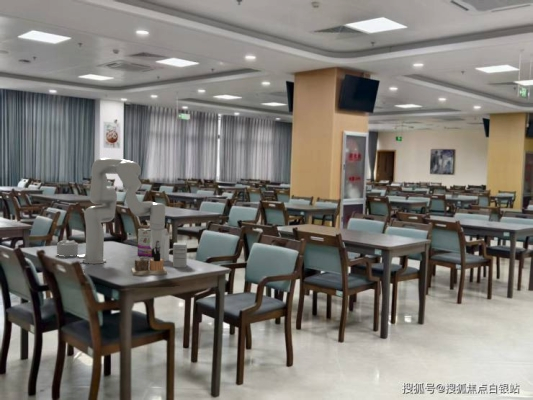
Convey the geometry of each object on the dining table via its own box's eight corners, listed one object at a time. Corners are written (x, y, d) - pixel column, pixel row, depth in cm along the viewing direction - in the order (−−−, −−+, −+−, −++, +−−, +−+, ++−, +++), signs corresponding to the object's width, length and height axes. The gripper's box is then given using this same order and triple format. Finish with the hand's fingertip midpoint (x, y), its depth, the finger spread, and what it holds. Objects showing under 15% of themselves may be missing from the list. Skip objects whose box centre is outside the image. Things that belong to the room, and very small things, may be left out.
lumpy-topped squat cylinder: (63, 257, 310) (63, 242, 310) (53, 254, 319) (53, 240, 319) (79, 255, 318) (80, 241, 317) (69, 252, 327) (69, 238, 326)
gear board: (133, 274, 268) (133, 259, 268) (131, 270, 279) (131, 255, 278) (166, 273, 274) (167, 258, 273) (163, 269, 284) (164, 254, 284)
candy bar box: (157, 256, 326) (157, 229, 325) (152, 257, 322) (153, 230, 321) (141, 254, 330) (142, 228, 329) (137, 255, 326) (137, 228, 325)
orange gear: (150, 270, 273) (150, 261, 273) (148, 268, 280) (148, 258, 279) (164, 270, 275) (164, 260, 275) (162, 267, 282) (162, 258, 282)
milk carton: (164, 262, 307) (165, 229, 306) (152, 261, 308) (153, 228, 307) (168, 260, 314) (169, 228, 313) (157, 259, 315) (158, 227, 314)
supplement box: (173, 264, 300) (174, 242, 299) (186, 265, 301) (187, 242, 300) (172, 267, 293) (172, 244, 292) (185, 267, 293) (186, 244, 292)
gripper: (147, 224, 283) (146, 256, 284) (151, 229, 267) (150, 262, 268) (162, 224, 286) (160, 256, 287) (166, 229, 269) (165, 262, 271)
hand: (155, 259), depth 277 cm, fingers open, 9 cm apart
